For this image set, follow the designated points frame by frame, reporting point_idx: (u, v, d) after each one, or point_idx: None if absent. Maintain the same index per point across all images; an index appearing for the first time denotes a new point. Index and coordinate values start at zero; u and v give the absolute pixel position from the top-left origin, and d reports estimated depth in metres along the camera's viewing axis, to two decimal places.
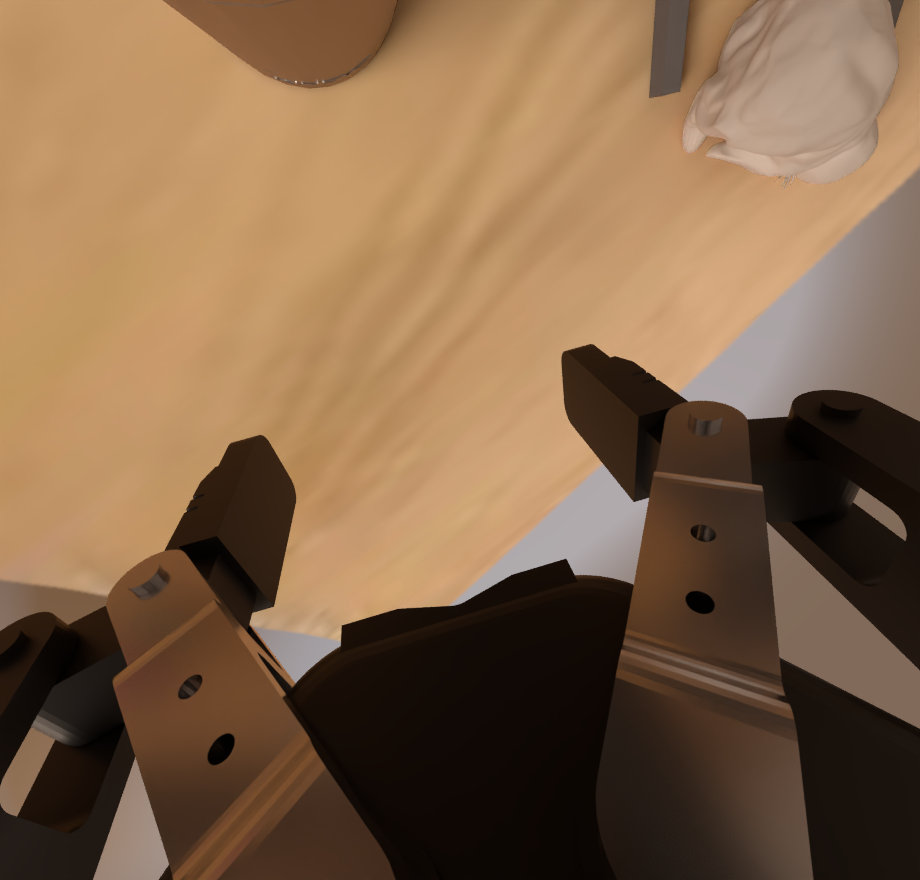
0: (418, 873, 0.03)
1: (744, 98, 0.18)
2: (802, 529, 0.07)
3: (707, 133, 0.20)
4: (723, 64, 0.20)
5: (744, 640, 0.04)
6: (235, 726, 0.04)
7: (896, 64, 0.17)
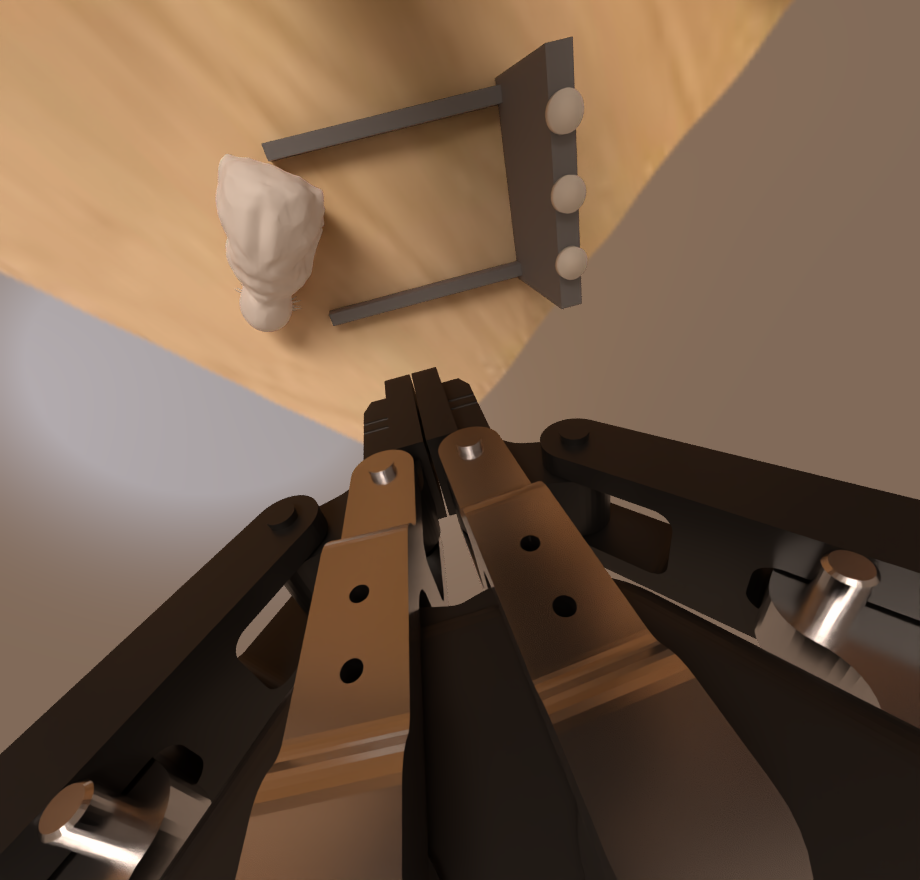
0: None
1: (240, 159, 0.25)
2: (593, 544, 0.08)
3: None
4: None
5: (610, 616, 0.04)
6: (368, 659, 0.04)
7: (272, 252, 0.26)
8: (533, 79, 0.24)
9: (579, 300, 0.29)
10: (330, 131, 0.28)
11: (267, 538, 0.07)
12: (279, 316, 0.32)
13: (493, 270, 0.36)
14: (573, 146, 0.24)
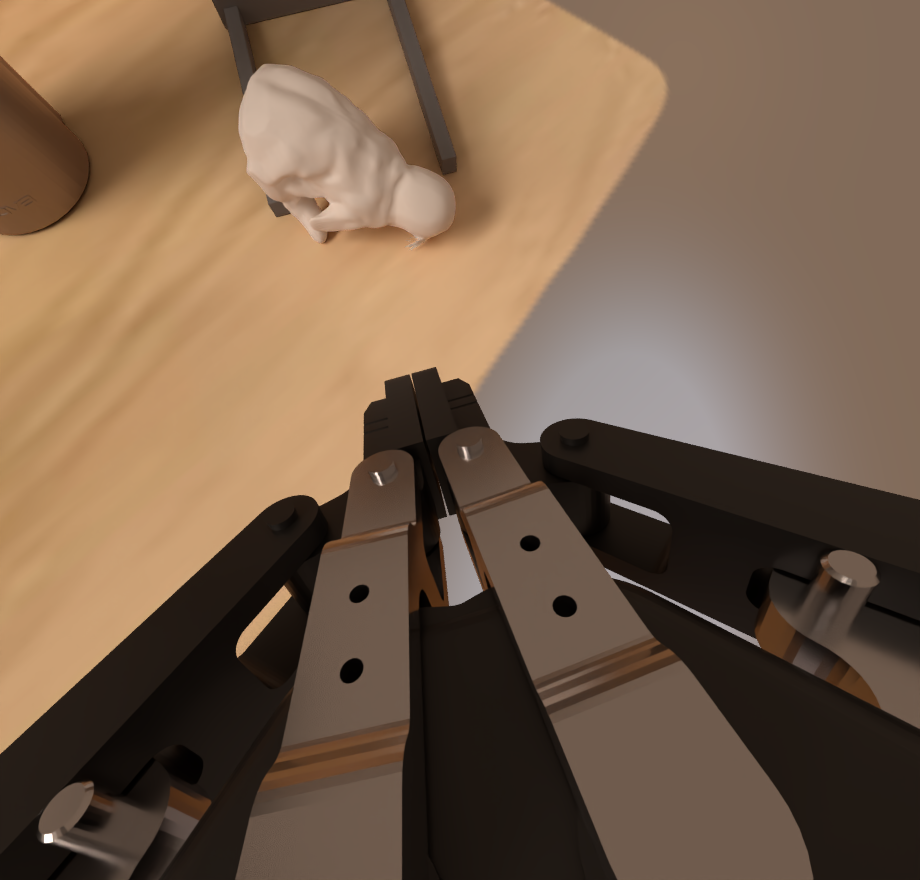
0: None
1: None
2: (593, 544, 0.08)
3: (264, 190, 0.24)
4: None
5: (610, 616, 0.04)
6: (368, 659, 0.04)
7: (319, 84, 0.21)
8: None
9: None
10: None
11: (268, 538, 0.07)
12: (429, 170, 0.25)
13: None
14: None
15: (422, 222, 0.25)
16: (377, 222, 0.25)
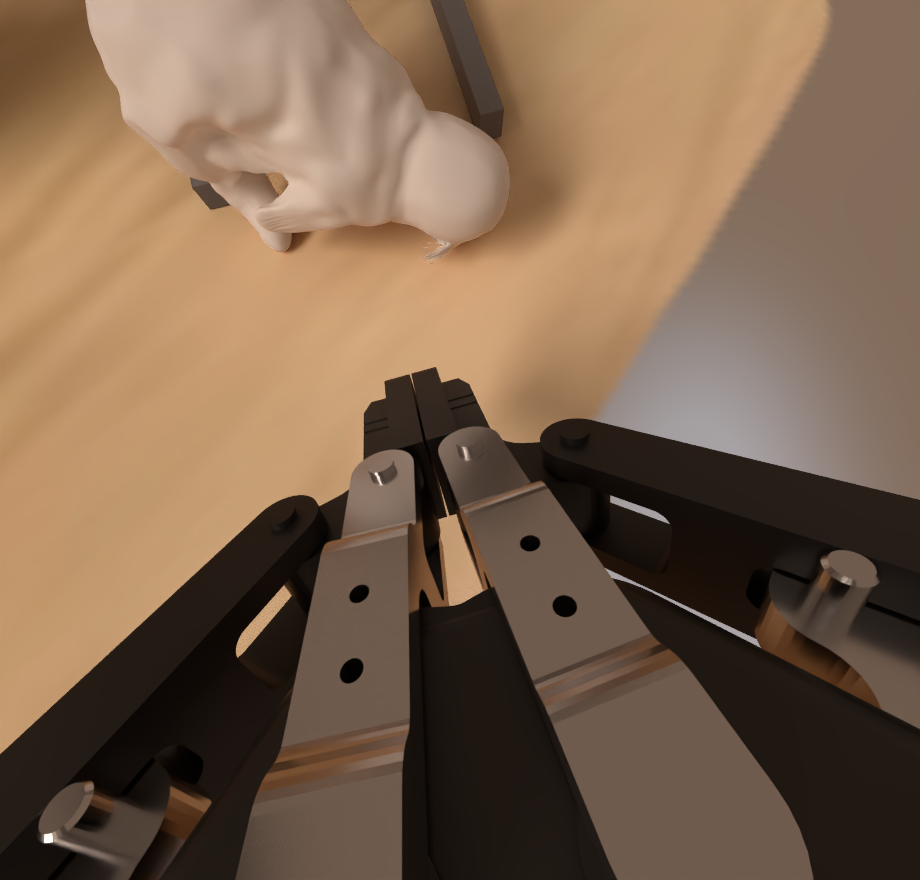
0: None
1: None
2: (593, 544, 0.08)
3: (166, 158, 0.13)
4: None
5: (610, 616, 0.04)
6: (368, 659, 0.04)
7: None
8: None
9: None
10: None
11: (267, 539, 0.07)
12: (466, 121, 0.14)
13: None
14: None
15: (453, 215, 0.14)
16: (372, 216, 0.14)
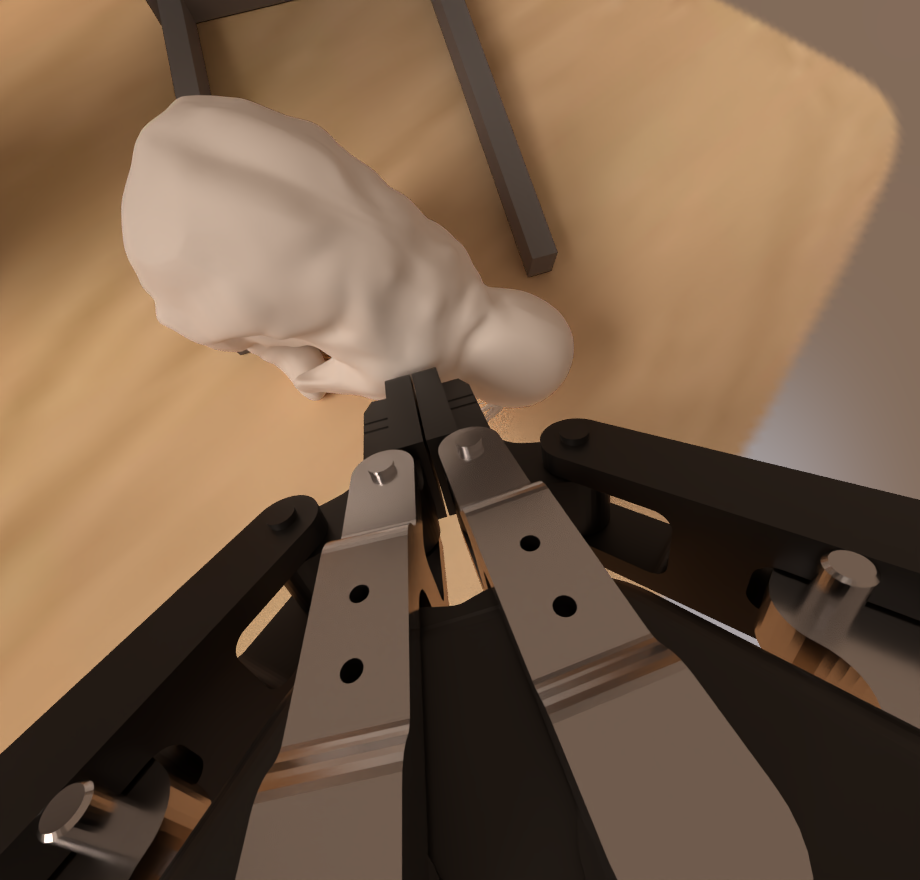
0: None
1: None
2: (593, 544, 0.08)
3: None
4: None
5: (610, 616, 0.04)
6: (368, 659, 0.04)
7: (307, 146, 0.09)
8: None
9: None
10: None
11: (267, 538, 0.07)
12: (529, 296, 0.12)
13: None
14: None
15: (514, 396, 0.13)
16: None
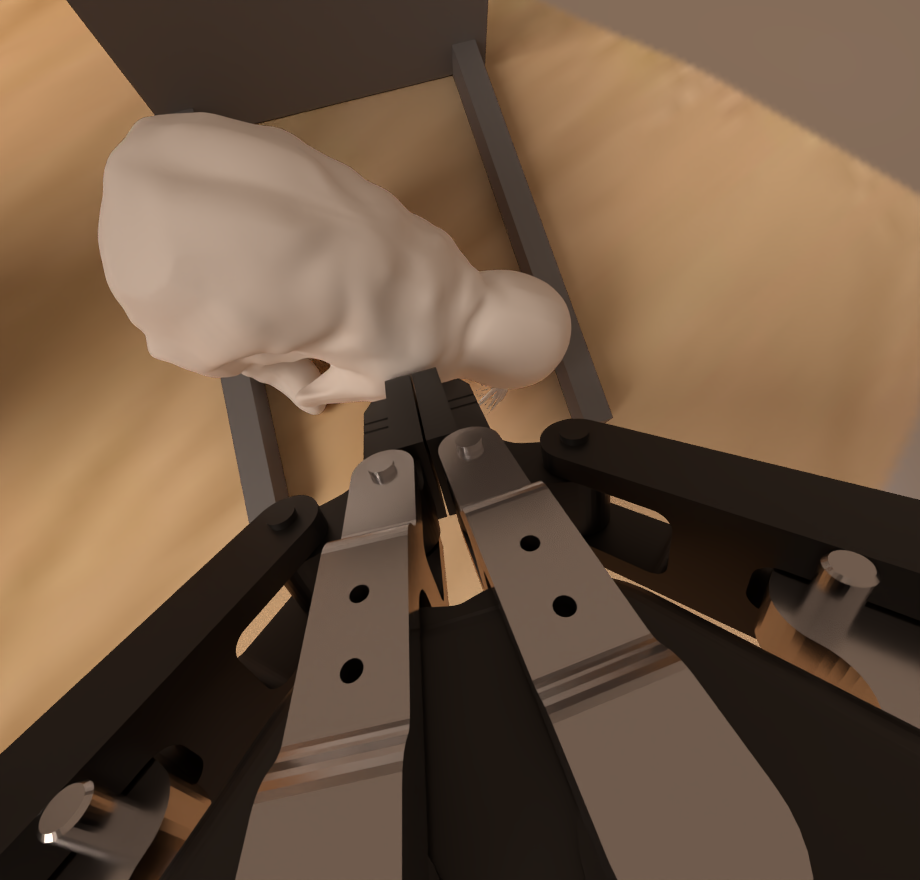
0: None
1: None
2: (593, 544, 0.08)
3: None
4: None
5: (610, 616, 0.04)
6: (368, 659, 0.04)
7: (284, 150, 0.08)
8: None
9: None
10: (229, 390, 0.15)
11: (267, 539, 0.07)
12: (519, 274, 0.12)
13: (468, 95, 0.17)
14: None
15: (521, 376, 0.13)
16: None
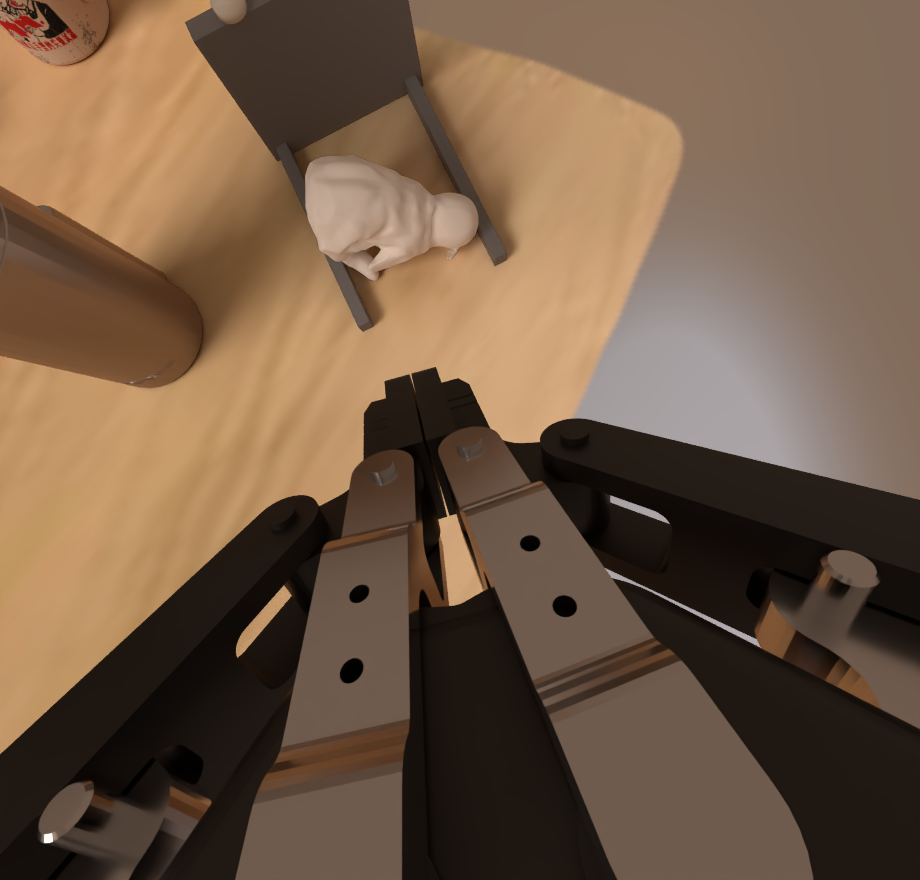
0: None
1: (312, 229, 0.28)
2: (593, 544, 0.08)
3: (332, 258, 0.30)
4: None
5: (610, 617, 0.04)
6: (368, 659, 0.04)
7: (361, 165, 0.26)
8: (231, 67, 0.28)
9: None
10: (336, 273, 0.33)
11: (268, 539, 0.07)
12: (450, 193, 0.30)
13: (417, 106, 0.34)
14: None
15: (458, 237, 0.30)
16: (423, 249, 0.31)
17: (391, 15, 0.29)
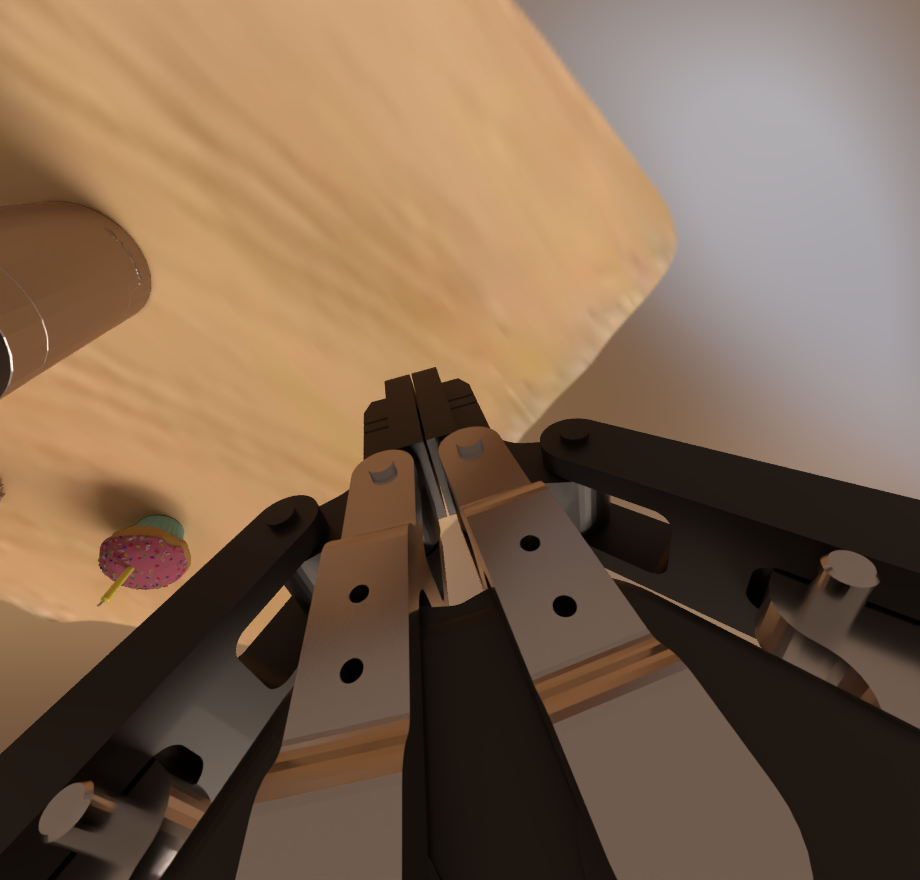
0: None
1: None
2: (593, 544, 0.08)
3: None
4: None
5: (610, 616, 0.04)
6: (368, 659, 0.04)
7: None
8: None
9: None
10: None
11: (267, 538, 0.07)
12: None
13: None
14: None
15: None
16: None
17: None
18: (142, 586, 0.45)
